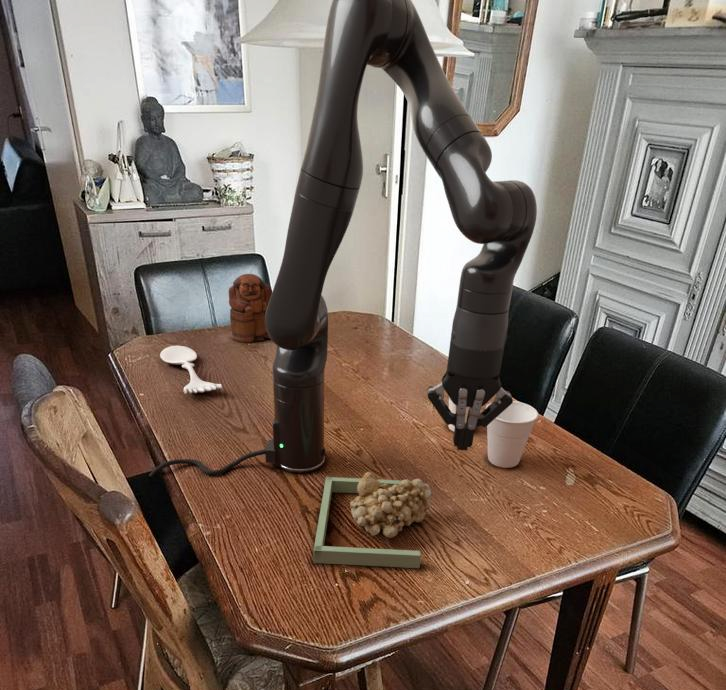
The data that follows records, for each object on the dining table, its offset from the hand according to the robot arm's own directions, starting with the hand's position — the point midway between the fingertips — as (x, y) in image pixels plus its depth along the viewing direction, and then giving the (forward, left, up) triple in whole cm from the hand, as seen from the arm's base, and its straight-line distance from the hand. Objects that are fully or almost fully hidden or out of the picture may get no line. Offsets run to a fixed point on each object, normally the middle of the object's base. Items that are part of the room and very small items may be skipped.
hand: (461, 447), depth 97 cm
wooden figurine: (-50, +89, -16) cm, 103 cm away
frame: (-13, 0, -16) cm, 20 cm away
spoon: (-60, +59, -16) cm, 86 cm away
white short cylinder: (+5, +38, -16) cm, 41 cm away
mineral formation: (-12, 0, -16) cm, 19 cm away
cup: (+12, +24, -16) cm, 31 cm away
